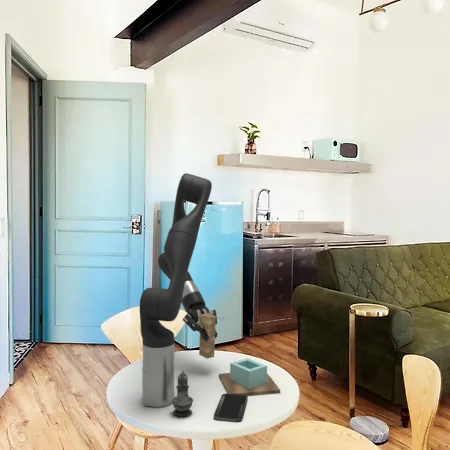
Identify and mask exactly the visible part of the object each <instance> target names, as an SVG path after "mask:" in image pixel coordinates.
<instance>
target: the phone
mask: <svg viewBox="0 0 450 450" xmlns="http://www.w3.org/2000/svg"><path fill="white" fill-rule="evenodd" d="M248 397H249V396H245V395H229V394H228V393H222V394H221V396H220V398H219V401H218V404H217V406H216V409H215V411H214V413H213V420H214V421H219V422H221V421H222V422H230V423H241V422H243V419H244V415H245V411H246V407H247V405H248V404H247V403H248Z"/></svg>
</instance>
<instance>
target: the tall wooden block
mask: <svg viewBox="0 0 450 450" xmlns="http://www.w3.org/2000/svg"><path fill="white" fill-rule="evenodd" d="M201 319H202V324H203V326H204V328H205V330H206V332H207V334H208V336H209V339H208V340H207V341H204V340H203V339H202V337H201V334H200V333H199V345H198V347H199V350H198V355H199V356H201V357H203V358H204V359H207V360H208V359H211V358H215V349H216V347H215V346H216V345H215V344H216V339H215V330H216V325H217V324H216V316H213V315H211V314H208V313H206V314H201ZM215 324H216V325H215Z"/></svg>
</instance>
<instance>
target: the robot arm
mask: <svg viewBox="0 0 450 450" xmlns="http://www.w3.org/2000/svg"><path fill="white" fill-rule="evenodd" d="M212 186H213V185H212V181H211V180H210V179H207V178H204V177H201V176H198V175H194V174H191V173H186V172H185V173H183V174H182V175H181V177H180V179H179V182H178V186H177V189H176V196H175V200H174V201H175V202H174V210H173V216H172V222H171V223H172V224H171V227H170V229H169V230H168V233H167V235H166V240H165V243H164V245H163V252H162V253H160V254H159V256H158V258H157V263H158V264H157V265H158V267H159V269H160V271H161V272H163V274H164V275H165V276H166V277H167V278H168V279H169V280H170V281H169V284H168V287H167V288H162V287H161V288H160V287H147V288H145V289H144V290H143V291H142V293H141V296H140V300H139V321H140V336H141V339H142V366H141V373H142V374H141V376H142V377H141V379H142V381H141V382H142V383H141V384H142V385H141V386H142V387H141V397H142V406H143V407H152V408H162V407H166V406H169V405H171V404H173V403H172V400H173V398H175V334H174V332H173V331H172V330H171V329H169V328H167V327H165V326H164V325H163V324H162V323H161V322H174V321H175V320H176V319H177V317H178V315H179V313H180V310H181V305H182V307H183V309H184V311H185V313H186V314H185V315H184V317H183V318H182V322H184V323H185V324H186V325H187V326H188V327H189V328H190V329H191V330H192V332H198V333H199V335H200V334H201V337H202V339H203V340H204V341H207V340H208V339H209V336H208V334H207V332H206V330H205V328H204V326H203V324H202V319H201V314H206V313H208V314H211V315H213V316H216V324H215V326H216V325H217V324H218V317H217V310H216V309H212V310H210V309H209V308H208V306H206V301H205V299H204V297H203V295H202V294H201V293H202V292H201V291H200V289H199V287H198V286H197V284H196V283H195V281H194V279H193V278H192V275H191V274H190V272H189V267H190V264H191V260H192V258H193V254H194V251H195V247H196V243H197V239H198V236H199V231H200V226H201V223H202V219H203V217H204V213H205V210H206V207H207V205H208V202H209V199H210V196H211V194H212V188H213V187H212ZM185 202H188V203H190V204H194V205H195V206H194V207H193V209H192V210H191V211H190V212H189V213H188V214H186V209H185ZM160 321H161V322H160ZM217 338H218V332H217V330H216V329H215V340H216V339H217Z"/></svg>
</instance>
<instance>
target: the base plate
mask: <svg viewBox="0 0 450 450" xmlns="http://www.w3.org/2000/svg"><path fill="white" fill-rule="evenodd" d="M218 378H219V380H220V381H221V384H222V386H223V388H224V389H225V391H226V394H229V395H245V396H247V397H249V396H251V397H252V396H259V395H262V396H263V395H271V394H273V395H274V394H280V393H281V388H279V386H278V385H277V384H276V383H275V381H274V380H273V379H272V378H271V376H270V375H269V374H268V373H267V383H265V384H262V385H260V386H257V387H254V388H251V389H248V388H246V387H244V386H242V385H240V384H238V383H235V382H233V381H231V380H230V372H224V373H218Z"/></svg>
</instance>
